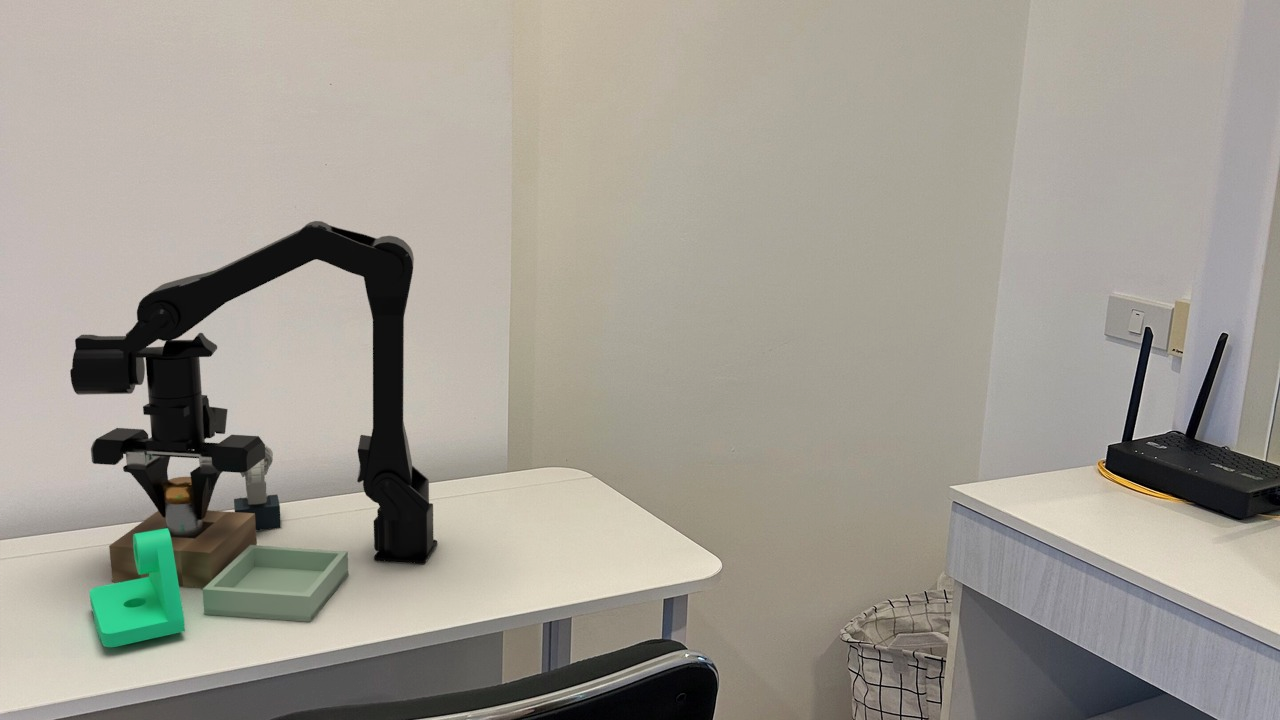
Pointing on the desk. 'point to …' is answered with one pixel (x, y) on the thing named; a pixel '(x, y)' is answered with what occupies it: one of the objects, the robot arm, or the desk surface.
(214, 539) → the hole block
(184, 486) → the steel pin
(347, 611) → the desk surface
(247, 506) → the watch
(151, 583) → the camera mount
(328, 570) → the tray
